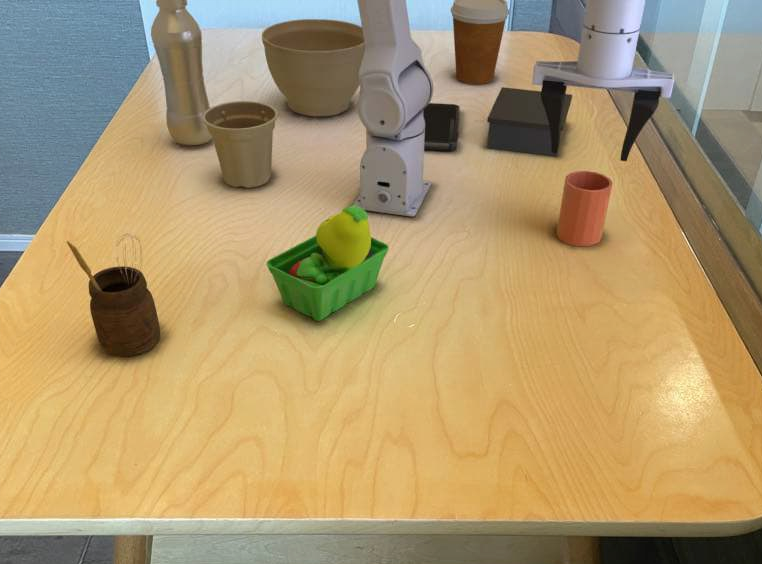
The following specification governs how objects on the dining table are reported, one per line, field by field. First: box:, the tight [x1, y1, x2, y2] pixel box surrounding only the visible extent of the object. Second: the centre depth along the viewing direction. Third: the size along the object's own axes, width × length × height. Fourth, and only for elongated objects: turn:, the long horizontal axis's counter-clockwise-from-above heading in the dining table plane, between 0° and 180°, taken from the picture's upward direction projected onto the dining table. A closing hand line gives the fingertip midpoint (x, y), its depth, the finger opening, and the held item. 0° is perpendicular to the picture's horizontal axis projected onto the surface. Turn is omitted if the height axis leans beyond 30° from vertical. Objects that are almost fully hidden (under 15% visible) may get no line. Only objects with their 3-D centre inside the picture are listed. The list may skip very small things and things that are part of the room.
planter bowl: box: [261, 18, 365, 117], centre depth 124 cm, size 16×16×11 cm
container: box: [486, 86, 573, 157], centre depth 119 cm, size 13×11×4 cm
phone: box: [423, 102, 461, 152], centre depth 121 cm, size 8×1×15 cm
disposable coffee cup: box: [450, 0, 510, 85], centre depth 135 cm, size 10×10×12 cm
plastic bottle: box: [150, 0, 213, 146], centre depth 110 cm, size 6×7×20 cm
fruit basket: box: [266, 205, 390, 322], centre depth 83 cm, size 11×9×11 cm
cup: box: [556, 170, 613, 247], centre depth 95 cm, size 5×5×7 cm
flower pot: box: [202, 100, 279, 189], centre depth 105 cm, size 9×9×9 cm
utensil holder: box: [66, 233, 161, 357], centre depth 76 cm, size 6×6×12 cm
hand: (589, 153), depth 92 cm, fingers open, 7 cm apart
